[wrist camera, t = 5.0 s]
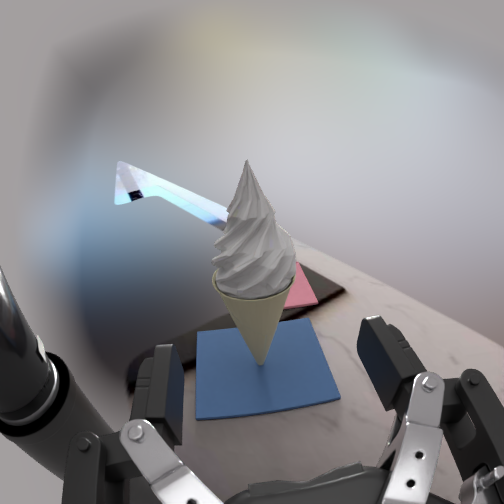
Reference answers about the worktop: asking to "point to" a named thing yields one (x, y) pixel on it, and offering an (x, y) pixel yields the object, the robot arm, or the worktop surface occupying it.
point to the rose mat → (300, 292)
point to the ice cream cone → (254, 266)
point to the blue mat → (261, 373)
